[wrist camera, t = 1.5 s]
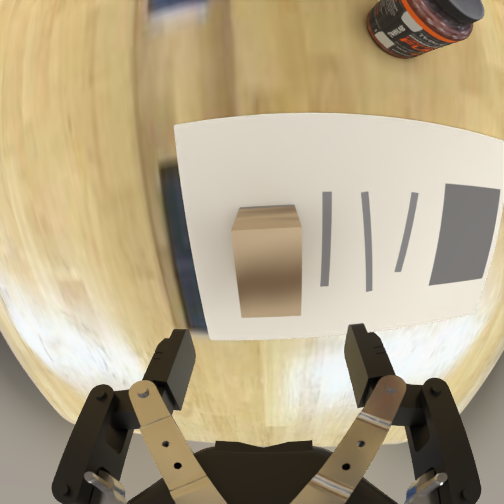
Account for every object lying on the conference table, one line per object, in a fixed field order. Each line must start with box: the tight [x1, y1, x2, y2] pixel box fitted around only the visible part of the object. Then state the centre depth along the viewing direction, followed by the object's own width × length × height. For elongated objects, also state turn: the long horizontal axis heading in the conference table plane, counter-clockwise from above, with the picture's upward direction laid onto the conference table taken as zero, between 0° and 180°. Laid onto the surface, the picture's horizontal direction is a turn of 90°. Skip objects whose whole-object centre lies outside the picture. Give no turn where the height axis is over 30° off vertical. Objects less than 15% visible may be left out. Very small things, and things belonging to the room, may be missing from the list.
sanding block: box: [231, 205, 302, 318], centre depth 21 cm, size 7×4×6 cm, turn 4°
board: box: [174, 113, 504, 340], centre depth 24 cm, size 22×34×2 cm, turn 94°
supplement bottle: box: [367, 0, 484, 58], centre depth 11 cm, size 6×6×11 cm
